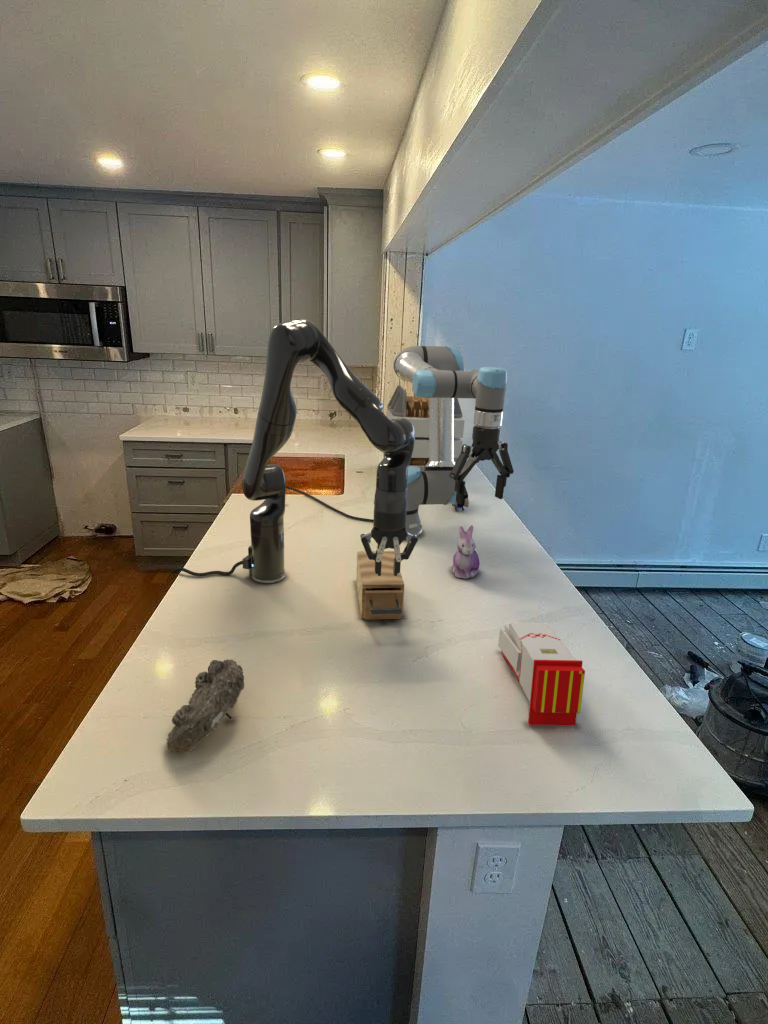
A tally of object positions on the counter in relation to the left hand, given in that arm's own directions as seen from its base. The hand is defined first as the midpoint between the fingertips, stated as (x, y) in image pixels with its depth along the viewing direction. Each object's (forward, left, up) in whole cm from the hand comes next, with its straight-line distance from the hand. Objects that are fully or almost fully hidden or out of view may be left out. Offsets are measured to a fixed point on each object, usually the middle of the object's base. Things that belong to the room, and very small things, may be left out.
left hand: (387, 574), depth 135 cm
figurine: (+13, +40, -15) cm, 44 cm away
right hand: (+15, +37, +9) cm, 41 cm away
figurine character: (-2, +100, -15) cm, 101 cm away
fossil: (-20, -42, -15) cm, 49 cm away
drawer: (-4, +9, -14) cm, 17 cm away
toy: (+36, -8, -15) cm, 40 cm away
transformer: (-29, +141, -15) cm, 145 cm away
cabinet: (-7, +14, -15) cm, 22 cm away
